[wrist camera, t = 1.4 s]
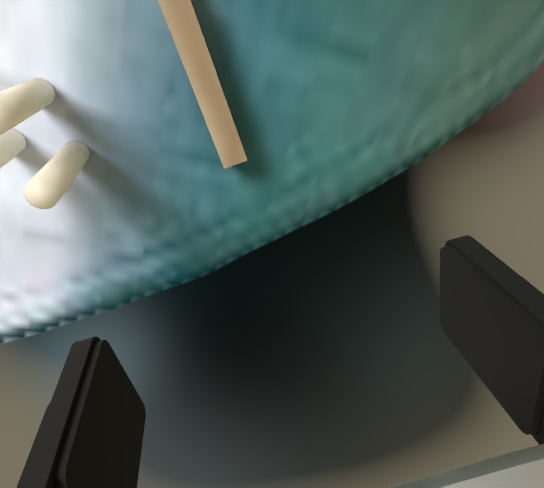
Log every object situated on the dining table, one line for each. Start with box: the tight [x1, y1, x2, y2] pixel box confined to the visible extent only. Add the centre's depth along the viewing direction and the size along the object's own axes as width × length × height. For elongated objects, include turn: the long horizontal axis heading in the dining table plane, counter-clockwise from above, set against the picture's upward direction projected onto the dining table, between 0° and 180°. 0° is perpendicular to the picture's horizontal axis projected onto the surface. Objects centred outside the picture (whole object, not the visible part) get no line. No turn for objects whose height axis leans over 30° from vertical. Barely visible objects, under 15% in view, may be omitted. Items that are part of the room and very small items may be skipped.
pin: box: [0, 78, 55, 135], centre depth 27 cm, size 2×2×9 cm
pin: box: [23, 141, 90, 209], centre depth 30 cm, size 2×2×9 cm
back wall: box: [158, 0, 247, 169], centre depth 31 cm, size 2×14×3 cm, turn 18°
